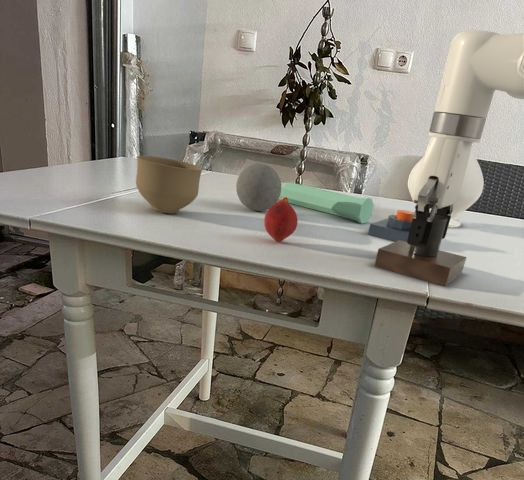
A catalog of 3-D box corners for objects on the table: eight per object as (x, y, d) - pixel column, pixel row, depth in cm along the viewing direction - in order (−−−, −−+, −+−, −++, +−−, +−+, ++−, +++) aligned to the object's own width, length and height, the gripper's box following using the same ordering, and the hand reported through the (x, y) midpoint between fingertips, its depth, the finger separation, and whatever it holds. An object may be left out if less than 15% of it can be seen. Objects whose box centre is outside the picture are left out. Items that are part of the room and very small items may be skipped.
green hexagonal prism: (280, 175, 126) (366, 193, 112) (292, 183, 131) (376, 202, 116) (271, 198, 127) (356, 219, 112) (284, 205, 131) (366, 227, 117)
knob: (414, 247, 87) (423, 210, 84) (440, 253, 85) (451, 216, 82) (405, 251, 83) (415, 213, 81) (432, 258, 81) (443, 219, 79)
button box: (432, 240, 108) (437, 221, 106) (418, 247, 101) (423, 227, 99) (383, 228, 113) (388, 210, 111) (367, 234, 106) (371, 215, 104)
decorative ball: (244, 203, 120) (248, 158, 115) (284, 211, 117) (290, 165, 113) (227, 209, 111) (231, 161, 107) (269, 218, 108) (275, 169, 104)
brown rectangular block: (461, 274, 87) (466, 257, 85) (445, 286, 79) (450, 268, 78) (395, 256, 92) (399, 240, 91) (374, 266, 84) (378, 248, 83)
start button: (415, 221, 106) (417, 212, 105) (409, 223, 103) (411, 214, 102) (399, 217, 107) (401, 209, 107) (393, 219, 105) (395, 210, 104)
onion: (280, 248, 88) (286, 201, 84) (255, 239, 91) (260, 194, 87) (300, 244, 92) (307, 199, 88) (275, 236, 95) (281, 192, 91)
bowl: (208, 219, 100) (212, 167, 96) (144, 218, 95) (145, 162, 90) (188, 205, 110) (191, 157, 106) (129, 203, 105) (129, 152, 100)
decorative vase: (393, 219, 124) (419, 107, 113) (406, 209, 139) (430, 109, 128) (468, 234, 118) (503, 118, 107) (473, 222, 133) (505, 119, 122)
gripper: (447, 127, 84) (420, 229, 92) (413, 123, 71) (385, 243, 78) (493, 133, 81) (462, 239, 88) (467, 131, 67) (432, 255, 75)
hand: (426, 241), depth 83 cm, fingers open, 9 cm apart
